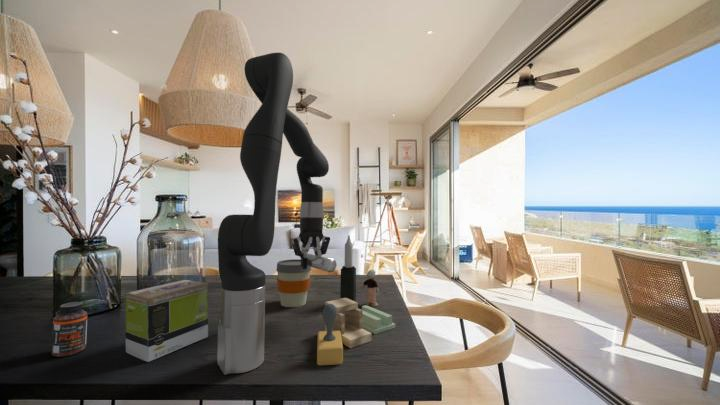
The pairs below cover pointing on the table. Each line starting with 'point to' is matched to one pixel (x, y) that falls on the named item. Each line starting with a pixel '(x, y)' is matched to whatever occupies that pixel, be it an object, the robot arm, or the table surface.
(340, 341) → the rubber stamp
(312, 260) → the axle
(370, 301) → the grandmother figurine
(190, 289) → the tea box
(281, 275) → the reusable coffee cup
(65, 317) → the supplement bottle
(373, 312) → the cradle
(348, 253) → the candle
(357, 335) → the beige block
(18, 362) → the table surface
